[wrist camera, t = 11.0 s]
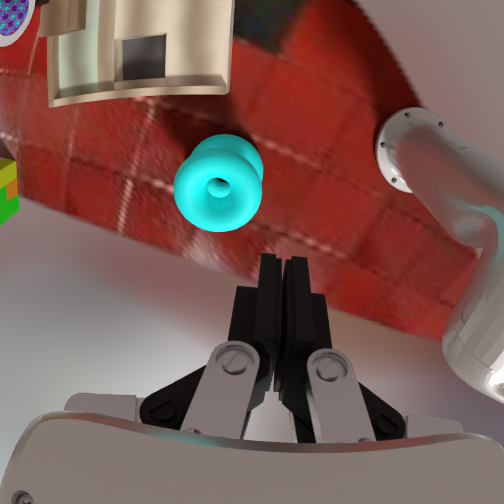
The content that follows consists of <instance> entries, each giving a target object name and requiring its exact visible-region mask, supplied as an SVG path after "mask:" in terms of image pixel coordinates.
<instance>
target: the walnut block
mask: <svg viewBox="0 0 504 504" xmlns="http://www.w3.org/2000/svg"><path fill="white" fill-rule="evenodd" d="M86 10H87V0H56V1H53V2H50V3H48V4H45V5H43V6H41V16H40V34H39V37H47V36H62V35H65V34H69V33H72V32H76V31H80V30H84V29H85V27H86Z"/></svg>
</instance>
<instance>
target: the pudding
mask: <svg viewBox="0 0 504 504" xmlns="http://www.w3.org/2000/svg"><path fill="white" fill-rule="evenodd" d="M28 3H29V9H28V13H27V9H26V8H27V6H28ZM34 7H35V0H0V46H7V45H10V44H11V43H13V42H14V41H16V40H17V39H18V38H19V37H20V36H21V34H22V33H23V32H24V30H25V29H26V27H27V25H28V24H29V22H30V19H31V17H32V14H33V11H34ZM26 15H27V16H26ZM25 17H26V18H25ZM24 19H25V20H24ZM23 20H24V22H23V24H22V25H21V22H22V21H23ZM20 25H21V27H20ZM19 27H20V28H19ZM15 31H16V32H15ZM11 32H15V33H14V34H12V35H10V34H11ZM2 35H5V36H2ZM8 35H10V36H8Z"/></svg>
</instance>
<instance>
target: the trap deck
mask: <svg viewBox="0 0 504 504" xmlns="http://www.w3.org/2000/svg"><path fill="white" fill-rule="evenodd" d="M53 1H56V0H50V2H53ZM234 8H235V0H87V10H86V27H85V29H84V30H80V31H76V32H72V33H69V34H65V35H62V36H47V76H48V97H49V108H50V107H56V106H62V105H68V104H74V103H81V102H88V101H96V100H104V99H113V98H124V97H137V96H152V95H179V94H218V95H225V94H227V93H228V92H230V72H231V54H232V38H233V22H234Z"/></svg>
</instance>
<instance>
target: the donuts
mask: <svg viewBox="0 0 504 504" xmlns="http://www.w3.org/2000/svg"><path fill="white" fill-rule="evenodd" d="M216 178H222V179H224V180H226V181H227V182H221V181H219V180H217V179H216ZM262 178H263V163H262V160H261V157H260V155H259V153H258V151H257V150H256V149H255V148H254V146H253V145H252V144H250V143H249V142H248V141H246V140H245V139H243V138H241V137H238V136H235V135H230V134H219V135H214V136H211V137H209V138H207V139H205V140H203V141H202V142H201V143H200V144H199V145H198V146H197V147H196V148H195V149H194V151H193V152H192V154H191V156H190V157H189V158H188V159H186V160H185V161H184V162H183V164H182V165H181V166H180V168H179V169H178V171H177V174H176V176H175V180H174V198H175V201H176V204H177V206H178V208H179V210H180V211H181V213H182V214H183V215H184V216H185V218H186V219H187V220H189V221H190V222H191V223H192V224H194V225H196V226H198V227H200V228H202V229H205V230H208V231H214V232H224V231H230V230H234V229H236V228H239V227H241V226H242V225H244V224H245V223H247V222H248V221H249V220H250V219H251V218H252V217H253V216H254V214H255V213H256V211H257V210H258V208H259V205H260V202H261V197H262V185H261V182H262Z"/></svg>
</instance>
